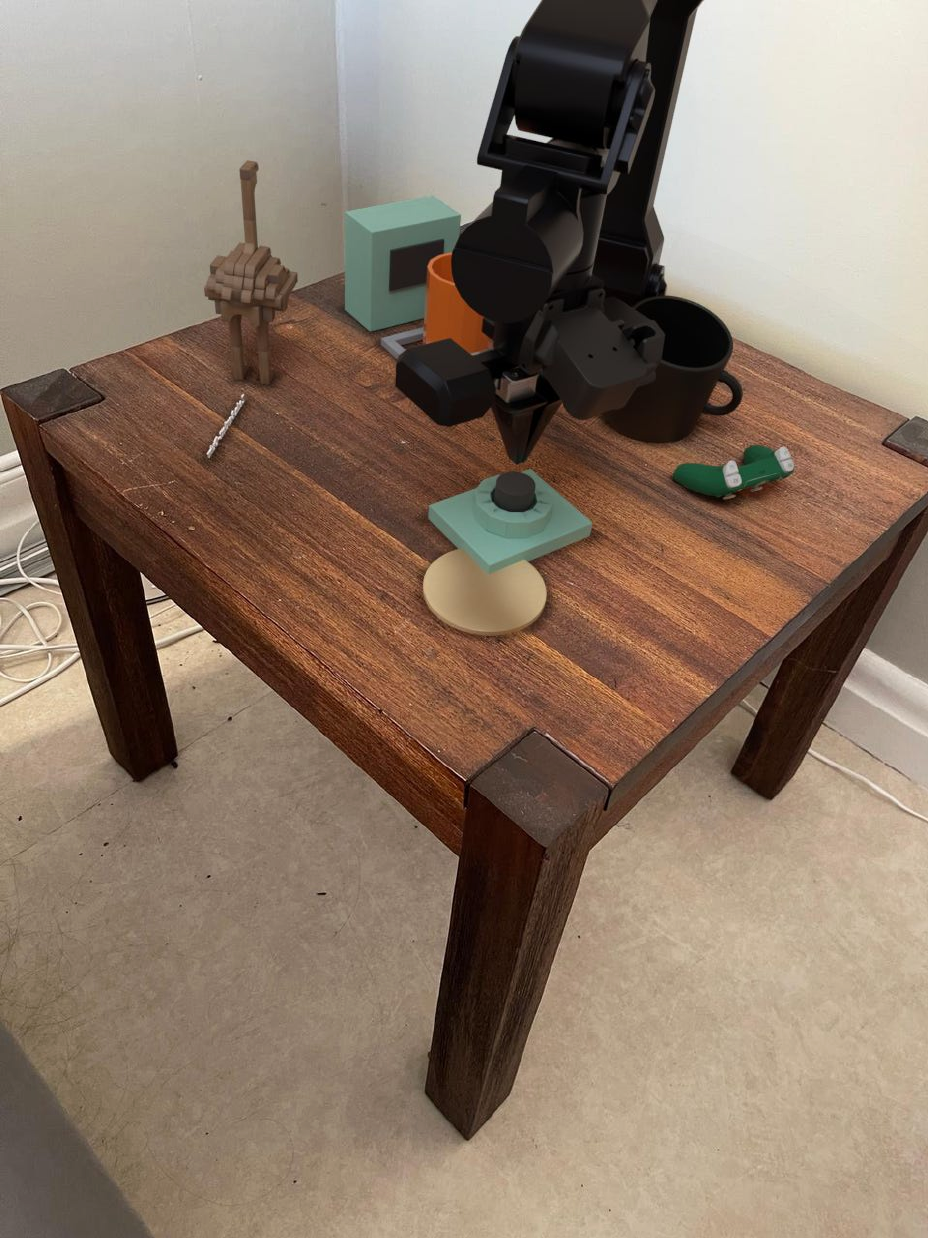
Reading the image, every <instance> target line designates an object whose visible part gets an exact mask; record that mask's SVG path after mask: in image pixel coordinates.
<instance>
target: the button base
mask: <svg viewBox="0 0 928 1238" xmlns="http://www.w3.org/2000/svg"><path fill="white" fill-rule="evenodd" d="M521 472H522V473H525V474H527V475H529V476H530V477H531V478H532V479H533V480H534V481H535V484H536V487H535V493H534V499H533V504H532V506H531V508H530V509H529V510H527V511H525V512H508V511H505V510H502V509H500V508H499V507H498V506H497V505H496V504H495V502H494V493H495V486H496V480H497V478H498V476H499V475H501V474H502V473H499V474H495V475H493V476H490V477H487V478H485V479H483V480H482V481H481V482H480V483H479V485H478V486H476V488H473V489H469V490H467V491H465V492H462V493H459V494H456V495H454V496H450V497H448V498H445V499H443V500H440V501H437V502H434V503H431V504H429V505H428V516H427V517H428V520H429V521H430V522H431V523H432V524H433V525H434V526H435V527H436V528H437V529H438V530H439V531H440V532H441V533H442V534H443V535H444V536H445V537H446V538H447V539H448V540H449V541H450V542H451V543H452V545H454V546H455V547H456V549H461V548H463V549H464V550H465V551H466V552H467V553H468V554H469V555H470V556H471V557H472V558H473V559H474V560H475V561H476V562H477V563H478V564H479V565H480V567H481V568H482V569H483V570H484V571H485V572H486V573H487V574H490V573H493V572H495V571H497V570H500V569H502V568H505V567H507V566H509V565H512V564H514V563H517V562H519V561H522V560H526V561H527V562H531V561H533V560H535V559H537V558H540V557H542V556H546V555H548V554H549V553H553V552H555V551H557V550H560V549H562V548H564V547H567V546H569V545H571V544H574V543H576V542H580V540H584V539H586V538H588V537H590V536H591V533H592V529H593V524H594V523H593V521H591V520H590V518H588V517H587V516H586V515H584V513H582V512H581V511H580V510H578V509H577V508H576V507H575V506H574V505H573V504H572V503H571V502H569V501H568V500H567V499H566V497H564V496H563V495H562V494H560V493H559V491H557V490H556V489H554V488H553V487H552V486H551V485H550V484H549V483H548V482H547V481H545V480H544V479H543V478H542V477H541V476H539V474H537V473H536V472H535V471H534V470H533V469H532V468H528V469H526V470H523V471H521Z"/></svg>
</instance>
